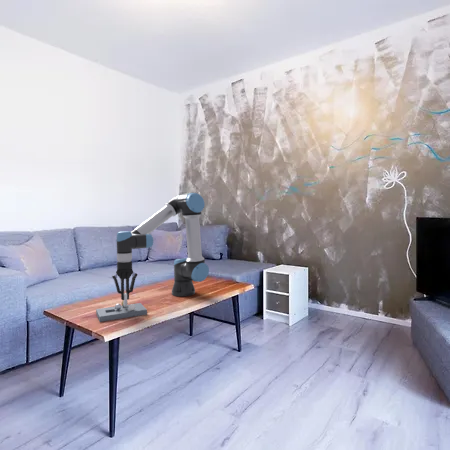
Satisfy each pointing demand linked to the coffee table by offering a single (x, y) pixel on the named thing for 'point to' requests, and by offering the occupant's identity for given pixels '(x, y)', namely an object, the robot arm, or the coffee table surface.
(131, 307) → the white ball
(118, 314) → the board
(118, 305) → the steel ball
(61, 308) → the coffee table surface
